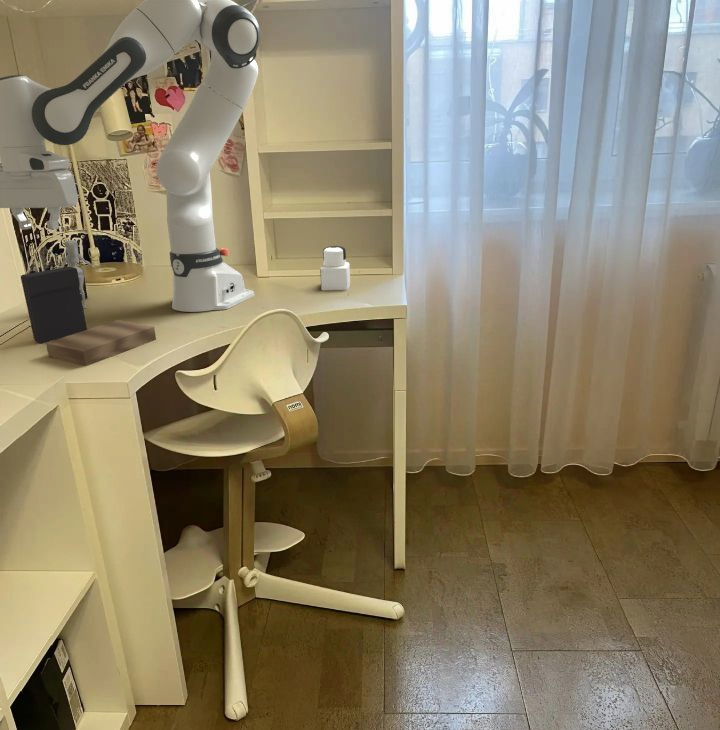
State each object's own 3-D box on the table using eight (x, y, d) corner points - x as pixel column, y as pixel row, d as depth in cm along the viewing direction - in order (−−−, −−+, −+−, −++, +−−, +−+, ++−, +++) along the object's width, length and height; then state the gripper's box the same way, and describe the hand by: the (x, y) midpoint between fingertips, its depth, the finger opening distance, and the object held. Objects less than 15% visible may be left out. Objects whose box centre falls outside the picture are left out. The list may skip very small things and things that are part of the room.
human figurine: (100, 303, 176) (88, 235, 169) (108, 306, 173) (96, 237, 167) (56, 314, 167) (42, 243, 161) (63, 316, 165) (49, 244, 158)
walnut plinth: (119, 332, 151) (117, 319, 150) (156, 339, 145) (154, 326, 144) (48, 356, 136) (45, 342, 135) (86, 365, 130) (83, 351, 129)
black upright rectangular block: (80, 328, 155) (68, 265, 149) (89, 332, 152) (77, 267, 147) (32, 341, 147) (18, 274, 142) (41, 344, 144) (26, 277, 139)
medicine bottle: (325, 287, 184) (322, 244, 180) (350, 287, 183) (348, 244, 179) (321, 294, 177) (318, 249, 173) (347, 294, 177) (345, 249, 172)
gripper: (-27, 164, 136) (-11, 231, 141) (53, 161, 130) (67, 232, 135) (-3, 161, 142) (12, 226, 147) (75, 159, 136) (88, 226, 141)
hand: (39, 229), depth 141 cm, fingers open, 6 cm apart
